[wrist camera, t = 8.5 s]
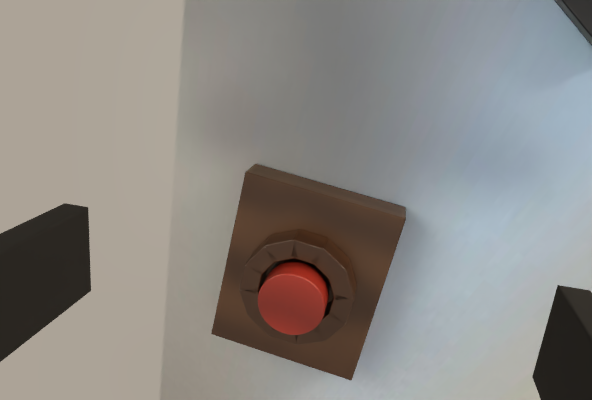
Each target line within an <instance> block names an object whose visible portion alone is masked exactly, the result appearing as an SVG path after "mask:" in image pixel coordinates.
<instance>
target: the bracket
mask: <svg viewBox="0 0 592 400" xmlns="http://www.w3.org/2000/svg"><path fill="white" fill-rule="evenodd" d="M555 1H556V2H557V3H558V5H559V6H560V7H561V8H562V10H563V11H564V12H565V13H566V15H567V16H568V17H569V18H570V19H571V21H572V22H573V23H574V24H575V26H576V27H577V28H578V29H579V30H580V32H581V33H582V34H583V35H584V37H585V38H586V39H587V40H588V41H589V43H590V44H591V45H592V0H555Z"/></svg>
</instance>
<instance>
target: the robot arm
mask: <svg viewBox="0 0 592 400" xmlns="http://www.w3.org/2000/svg"><path fill="white" fill-rule="evenodd" d="M90 291H91V281H90V252H89V221H88V207H83V206H77V205H70V204H63V205H60V206H58V207H56V208H54V209H52V210H50V211H48V212H46V213H43V214H41V215H39V216H37V217H35V218H33V219H31V220H29V221H27V222H24V223H22V224H20V225H18V226H16V227H14V228H12V229H10V230H8V231H5V232H3V233H1V234H0V361H2V360H3V359H4V358H6V357H7V356H8V355H10V354H11V353H12V352H13V351H15V350H16V349H17V348H18V347H20V346H21V345H22V344H24V343H25V342H26V341H27V340H29V339H30V338H31V337H32V336H34V335H35V334H36V333H37V332H39V331H40V330H41V329H42V328H44V327H45V326H46V325H48V324H49V323H50V322H52V321H53V320H54V319H55V318H57V317H58V316H59V315H60V314H62V313H63V312H64V311H66V310H67V309H68V308H69V307H71V306H72V305H73V304H74V303H75V302H77V301H78V300H80V299H81V298H82V297H83V296H85V295H86V294H87V293H88V292H90ZM533 379H534V382H535V385H536V387H537V390H538V393H539V395H540V398H541V400H592V293H591V291H589V290H583V289H577V288H571V287H565V286H559V285H558V287H557V290H556V294H555V297H554V301H553V305H552V308H551V312H550V315H549V319H548V323H547V326H546V330H545V333H544V337H543V341H542V344H541V348H540V352H539V355H538V359H537V362H536V366H535V370H534V373H533Z"/></svg>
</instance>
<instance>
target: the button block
mask: <svg viewBox="0 0 592 400" xmlns="http://www.w3.org/2000/svg"><path fill="white" fill-rule="evenodd" d="M405 220H406V208H405V207H402V206H399V205H396V204H392V203H389V202H385V201H382V200H378V199H375V198H372V197H368V196H365V195H361V194H358V193H354V192H351V191H347V190H344V189H341V188H337V187H334V186H330V185H327V184H323V183H320V182H317V181H313V180H310V179H306V178H303V177H299V176H296V175H292V174H289V173H286V172H282V171H279V170H275V169H272V168H268V167H265V166H262V165H258V164H255V165H254V166H252V167H251V168H250V169H249V170H248V171H247V172H246V173H245V178H244V182H243V187H242V192H241V197H240V201H239V206H238V211H237V215H236V220H235V225H234V230H233V234H232V239H231V244H230V249H229V253H228V258H227V263H226V267H225V272H224V277H223V282H222V286H221V291H220V296H219V300H218V305H217V310H216V315H215V319H214V324H213V329H212V334H213V335H216V336H219V337H222V338H225V339H228V340H231V341H234V342H237V343H240V344H243V345H246V346H249V347H252V348H255V349H258V350H261V351H264V352H267V353H270V354H273V355H276V356H279V357H282V358H285V359H288V360H291V361H294V362H297V363H300V364H303V365H306V366H309V367H312V368H315V369H318V370H322V371H325V372H328V373H331V374H334V375H337V376H340V377H343V378H346V379H349V380H352V378H353V375H354V372H355V369H356V366H357V363H358V360H359V357H360V354H361V351H362V348H363V345H364V342H365V339H366V336H367V333H368V330H369V327H370V324H371V321H372V318H373V315H374V312H375V309H376V306H377V303H378V300H379V297H380V294H381V291H382V288H383V285H384V282H385V279H386V276H387V273H388V270H389V268H390V265H391V262H392V259H393V256H394V253H395V250H396V247H397V244H398V241H399V238H400V235H401V232H402V229H403V226H404V223H405ZM287 262H300V263H304V264H307V265H309V266H311V267H313V268H314V269H316V270H317V271H318V272H319V273H320V274H321V275H322V277H323V278H324V280H325V281H326V284H327V286H328V291H329V298H328V303H327V306H326V309H325V313H324V316H323V319H322V320H321V322H320V323H319V325H318V326H317V327H316V328H314V329H313V330H311V331H310V332H307V333H305V334H300V335H289V334H285V333H282V332H279V331H277V330H275V329H274V328H272V327H271V326H270V325H269V324H268V323H267V322H266V321H265V320H264V318H263V317H262V315H261V313H260V311H259V307H258V294H259V291H260V289H261V287H262V285H263V283H264V281H265V280H266V278H267V276H268V275H269V273H270V272H271V271H272V270H273V269H274V268H275V267H277V266H278V265H280V264H283V263H287Z"/></svg>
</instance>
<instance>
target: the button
mask: <svg viewBox="0 0 592 400" xmlns="http://www.w3.org/2000/svg"><path fill="white" fill-rule="evenodd" d="M328 298H329V291H328V286H327V284H326V281H325V280H324V278H323V277H322V275H321V274H320V273H319V272H318V271H317V270H316V269H314V268H313V267H311V266H309V265H307V264H304V263H300V262H287V263H283V264H280V265H278V266H277V267H275V268H274V269H273V270H272V271H271V272H270V273H269V275H268V276H267V278H266V280H265V281H264V283H263V285H262V287H261V289H260V291H259V294H258V307H259V311H260V313H261V315H262V317H263V318H264V320H265V321H266V322H267V323H268V324H269V325H270V326H271V327H272V328H274V329H275V330H277V331H279V332H282V333H285V334H289V335H300V334H305V333H307V332H310V331H311V330H313V329H314V328H316V327H317V326H318V325H319V323H320V322H321V320H322V319H323V316H324V313H325V309H326V306H327V303H328Z"/></svg>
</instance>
